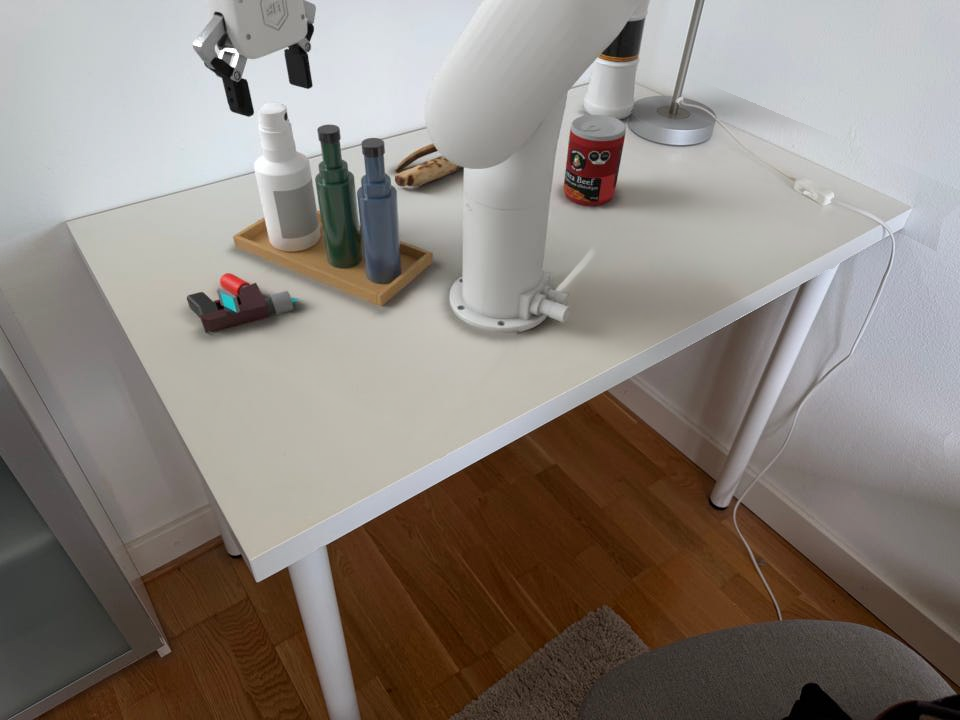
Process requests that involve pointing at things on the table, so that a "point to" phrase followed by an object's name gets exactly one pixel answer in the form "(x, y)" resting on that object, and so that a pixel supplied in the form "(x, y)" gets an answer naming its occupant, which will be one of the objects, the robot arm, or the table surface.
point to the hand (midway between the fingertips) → (273, 99)
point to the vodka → (617, 70)
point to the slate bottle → (378, 217)
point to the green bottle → (337, 202)
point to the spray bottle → (285, 184)
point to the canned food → (593, 159)
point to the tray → (344, 279)
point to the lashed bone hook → (423, 168)
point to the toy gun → (237, 304)
